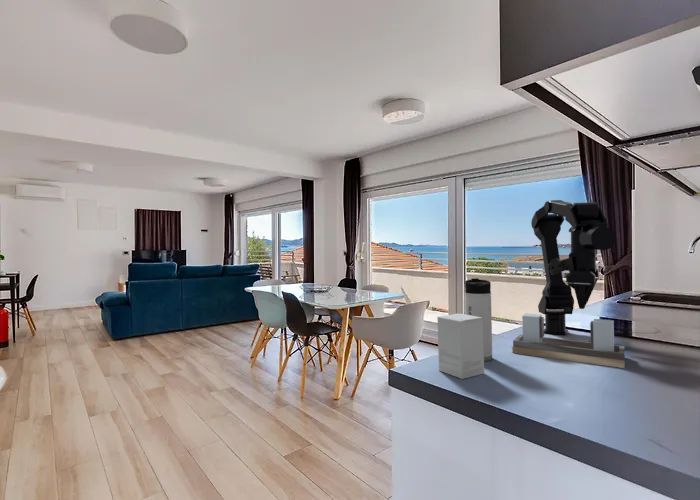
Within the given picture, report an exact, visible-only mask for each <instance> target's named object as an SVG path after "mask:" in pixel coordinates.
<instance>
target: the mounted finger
mask: <svg viewBox="0 0 700 500" xmlns="http://www.w3.org/2000/svg"><path fill="white" fill-rule="evenodd" d="M521 317H522V335H523V341H527V342H535V343H542V338H543V337H545V333H544V329H545V318H544V317H545V316H542V314H537V313H535V314H534V313H524V314H523V315H522V316H521Z"/></svg>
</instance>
